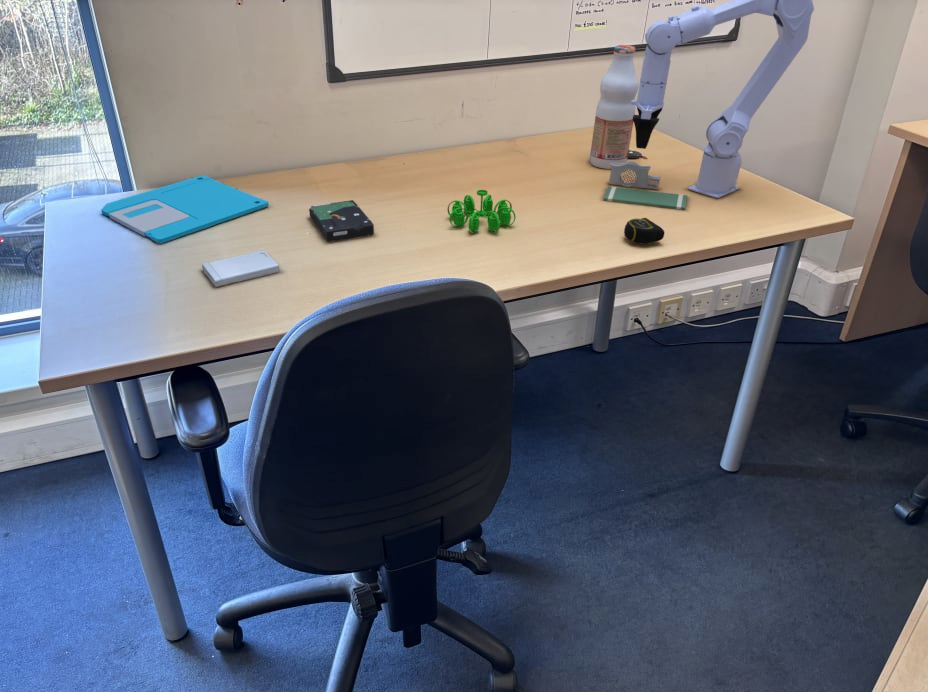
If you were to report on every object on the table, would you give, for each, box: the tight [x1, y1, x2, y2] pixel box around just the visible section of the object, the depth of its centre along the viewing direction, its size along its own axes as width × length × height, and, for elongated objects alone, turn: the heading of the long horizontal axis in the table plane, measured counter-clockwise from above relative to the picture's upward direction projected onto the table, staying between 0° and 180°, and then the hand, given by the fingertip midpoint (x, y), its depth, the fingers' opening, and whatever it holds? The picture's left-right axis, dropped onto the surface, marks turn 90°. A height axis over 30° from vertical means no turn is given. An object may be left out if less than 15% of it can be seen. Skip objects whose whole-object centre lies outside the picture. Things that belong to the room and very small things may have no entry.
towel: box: [603, 186, 688, 211], centre depth 171 cm, size 8×18×1 cm, turn 71°
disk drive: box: [308, 199, 375, 243], centre depth 158 cm, size 10×3×15 cm
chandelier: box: [447, 189, 517, 234], centre depth 158 cm, size 15×15×7 cm
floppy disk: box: [100, 174, 270, 244], centre depth 166 cm, size 26×28×1 cm
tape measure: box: [623, 217, 665, 245], centre depth 151 cm, size 7×7×4 cm
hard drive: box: [201, 250, 281, 288], centre depth 141 cm, size 2×8×12 cm
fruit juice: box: [589, 44, 640, 170], centre depth 184 cm, size 9×9×28 cm
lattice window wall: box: [608, 161, 662, 190], centre depth 176 cm, size 12×2×6 cm, turn 71°
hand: (642, 143), depth 172 cm, fingers open, 7 cm apart
